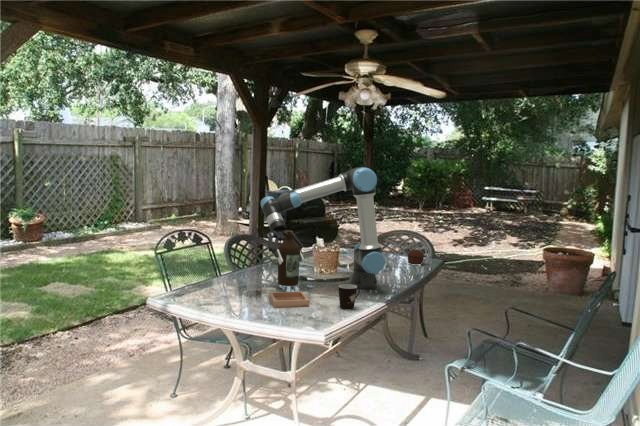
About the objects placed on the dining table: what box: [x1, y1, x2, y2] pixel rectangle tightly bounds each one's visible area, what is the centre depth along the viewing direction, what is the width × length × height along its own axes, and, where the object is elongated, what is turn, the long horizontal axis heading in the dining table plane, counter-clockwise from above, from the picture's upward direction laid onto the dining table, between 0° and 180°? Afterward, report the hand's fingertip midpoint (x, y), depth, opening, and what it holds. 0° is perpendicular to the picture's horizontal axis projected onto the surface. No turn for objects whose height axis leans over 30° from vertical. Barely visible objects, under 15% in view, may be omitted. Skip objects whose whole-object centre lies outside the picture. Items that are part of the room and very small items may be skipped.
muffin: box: [407, 249, 425, 264], centre depth 341 cm, size 12×11×10 cm
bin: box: [268, 291, 310, 309], centre depth 236 cm, size 16×16×3 cm
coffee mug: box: [337, 283, 361, 310], centre depth 230 cm, size 12×9×10 cm
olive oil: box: [277, 230, 300, 287], centre depth 234 cm, size 11×11×25 cm
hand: (291, 261), depth 232 cm, fingers closed on olive oil, 10 cm apart
